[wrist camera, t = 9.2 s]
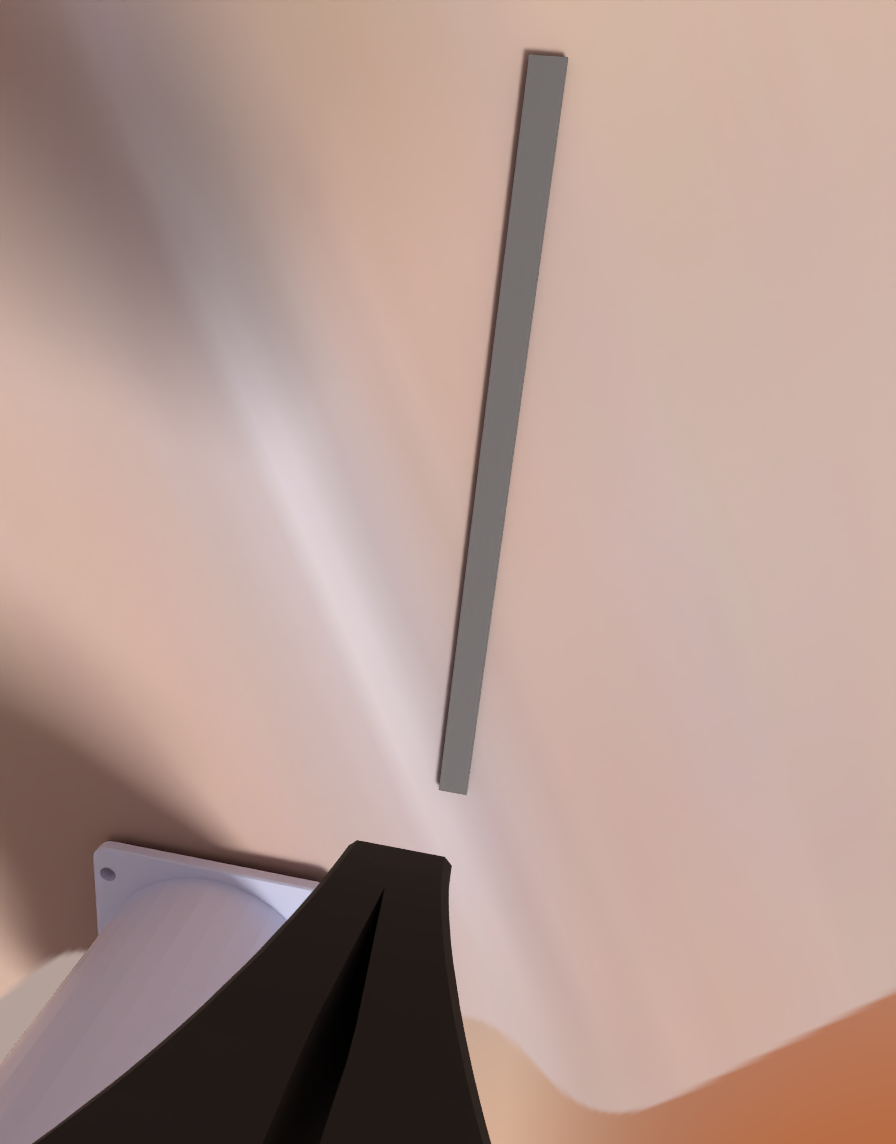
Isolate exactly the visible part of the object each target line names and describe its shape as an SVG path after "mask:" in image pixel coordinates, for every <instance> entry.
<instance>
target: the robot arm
mask: <svg viewBox="0 0 896 1144" xmlns="http://www.w3.org/2000/svg"><path fill="white" fill-rule="evenodd" d="M93 863H94V879H95V894H96V910H97V926H98V937H97V938H96V940H95V941H94V942H93V944H92V945H91V946H90V947H89V949H88V950H87V951H86V953H85V954H84V955H83V957H82V958H81V959H80V961H79V962H78V963H77V964H76V966H75V967H74V968H73V970H72V971H71V972H70V974H69V975H68V976H67V977H66V979H65V980H64V982H63V983H62V984H61V985H60V987H59V988H58V989H57V990H56V992H55V993H54V994H53V996H52V997H51V998H50V1000H49V1001H48V1002H47V1004H46V1005H45V1006H44V1007H43V1009H42V1010H41V1011H40V1013H39V1014H38V1015H37V1017H36V1018H35V1019H34V1021H33V1022H32V1023H31V1025H30V1026H29V1027H28V1028H27V1030H26V1031H25V1032H24V1034H23V1035H22V1036H21V1038H20V1039H19V1040H18V1041H17V1043H16V1044H15V1045H14V1047H13V1048H12V1049H11V1050H10V1052H9V1053H8V1054H7V1056H6V1057H5V1058H4V1060H3V1061H2V1062H1V1064H0V1144H491V1142H490V1138H489V1134H488V1131H487V1127H486V1123H485V1120H484V1116H483V1112H482V1108H481V1104H480V1100H479V1096H478V1091H477V1087H476V1083H475V1079H474V1075H473V1070H472V1066H471V1061H470V1057H469V1051H468V1047H467V1042H466V1037H465V1032H464V1027H463V1021H462V1016H461V1011H460V1005H459V998H458V991H457V985H456V978H455V972H454V965H453V957H452V948H451V938H450V924H449V882H450V874H451V867H452V866H451V864H450V863H449V862H448V861H447V859H446V858H445V857H442V856H437V855H432V854H427V853H421V852H416V851H411V850H406V849H400V848H395V847H390V846H385V845H379V844H374V843H369V842H364V841H358V840H357V841H355V842H354V843H352V844H350V845H349V846H348V847H347V849H346V850H345V851H344V853H343V854H342V855H341V857H340V858H339V859H338V861H337V862H336V863H335V864H334V866H333V867H332V868H331V870H330V871H329V872H328V873H327V875H326V876H325V877H324V878H323V879H322V881H321V882H316V881H311V880H306V879H301V878H296V877H291V876H286V875H281V874H276V873H271V872H266V871H261V870H256V869H251V868H246V867H240V866H235V865H230V864H225V863H220V862H215V861H210V860H205V859H200V858H195V857H190V856H185V855H180V854H175V853H170V852H165V851H160V850H155V849H149V848H144V847H139V846H134V845H129V844H124V843H119V842H114V841H106V842H104V843H102V844H101V845H100V846H99V848H98V849H97V850H96V851H95V852H94V856H93ZM109 868H110V869H112V870H113V871H114V872H113V871H111V870H110V869H109Z"/></svg>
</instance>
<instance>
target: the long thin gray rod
mask: <svg viewBox="0 0 896 1144" xmlns="http://www.w3.org/2000/svg"><path fill="white" fill-rule="evenodd" d="M567 63H568V57H559V56H546V55H532V54H529V60H528V68H527V76H526V84H525V92H524V101H523V109H522V117H521V125H520V133H519V141H518V149H517V158H516V166H515V174H514V182H513V190H512V198H511V206H510V215H509V223H508V231H507V239H506V247H505V255H504V263H503V272H502V280H501V288H500V296H499V304H498V312H497V320H496V329H495V337H494V345H493V353H492V361H491V369H490V377H489V386H488V394H487V402H486V410H485V418H484V426H483V434H482V443H481V451H480V459H479V467H478V475H477V483H476V491H475V500H474V508H473V516H472V524H471V532H470V540H469V548H468V557H467V565H466V573H465V581H464V589H463V597H462V605H461V614H460V622H459V630H458V638H457V646H456V654H455V662H454V671H453V679H452V687H451V695H450V703H449V711H448V719H447V728H446V736H445V744H444V752H443V760H442V768H441V776H440V785H439V790H441V791H447V792H452V793H458V794H463V795H466V794H467V788H468V781H469V774H470V767H471V759H472V752H473V745H474V738H475V730H476V723H477V716H478V709H479V701H480V694H481V687H482V680H483V672H484V665H485V658H486V651H487V643H488V636H489V629H490V621H491V614H492V607H493V600H494V592H495V585H496V578H497V571H498V563H499V556H500V549H501V542H502V534H503V527H504V520H505V513H506V505H507V498H508V491H509V484H510V476H511V469H512V462H513V455H514V447H515V440H516V433H517V426H518V418H519V411H520V404H521V397H522V389H523V382H524V375H525V368H526V360H527V353H528V346H529V339H530V331H531V324H532V317H533V310H534V302H535V295H536V288H537V281H538V273H539V266H540V259H541V252H542V244H543V237H544V230H545V223H546V215H547V208H548V201H549V194H550V186H551V179H552V172H553V165H554V157H555V150H556V143H557V136H558V128H559V121H560V114H561V107H562V99H563V92H564V85H565V78H566V70H567Z"/></svg>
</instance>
